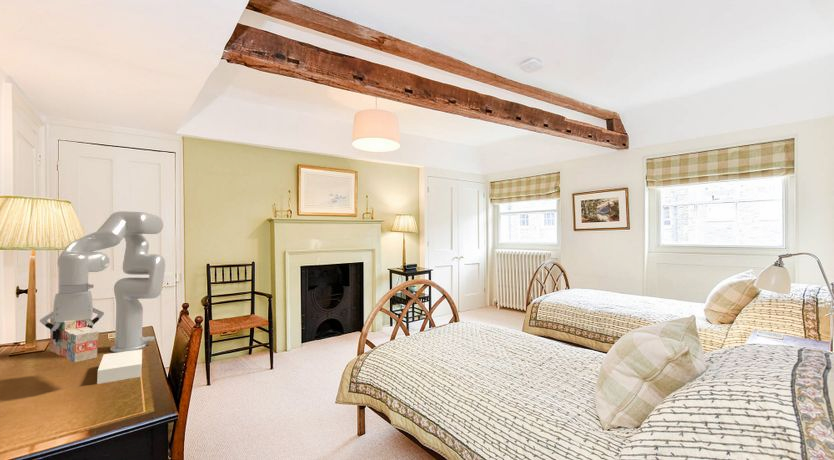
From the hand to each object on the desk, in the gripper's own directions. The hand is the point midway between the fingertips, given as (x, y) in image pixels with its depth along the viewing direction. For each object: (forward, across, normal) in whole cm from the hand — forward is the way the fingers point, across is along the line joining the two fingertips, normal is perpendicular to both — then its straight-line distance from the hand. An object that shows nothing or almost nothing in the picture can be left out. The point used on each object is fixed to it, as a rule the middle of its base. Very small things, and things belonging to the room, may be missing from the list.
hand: (73, 338), depth 128 cm
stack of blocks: (+6, 0, 0) cm, 6 cm away
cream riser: (+15, -13, +1) cm, 20 cm away
